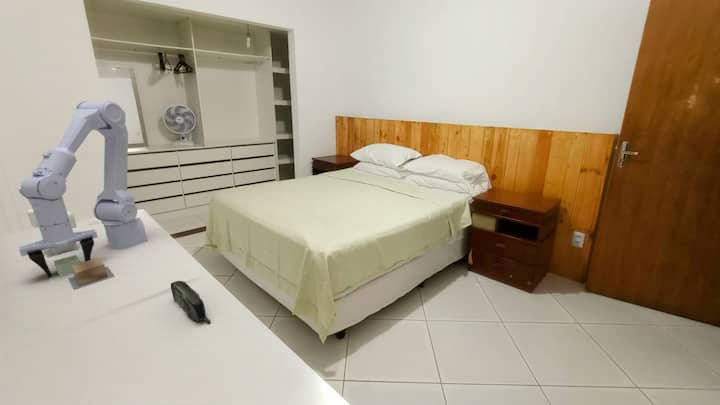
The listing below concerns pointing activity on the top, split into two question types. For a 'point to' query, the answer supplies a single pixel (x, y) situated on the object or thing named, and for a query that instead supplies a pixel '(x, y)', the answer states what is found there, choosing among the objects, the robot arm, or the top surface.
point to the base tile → (76, 285)
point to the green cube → (66, 265)
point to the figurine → (60, 248)
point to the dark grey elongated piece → (189, 301)
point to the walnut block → (89, 271)
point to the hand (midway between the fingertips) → (69, 270)
